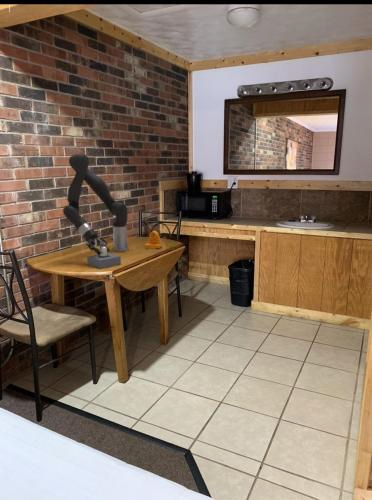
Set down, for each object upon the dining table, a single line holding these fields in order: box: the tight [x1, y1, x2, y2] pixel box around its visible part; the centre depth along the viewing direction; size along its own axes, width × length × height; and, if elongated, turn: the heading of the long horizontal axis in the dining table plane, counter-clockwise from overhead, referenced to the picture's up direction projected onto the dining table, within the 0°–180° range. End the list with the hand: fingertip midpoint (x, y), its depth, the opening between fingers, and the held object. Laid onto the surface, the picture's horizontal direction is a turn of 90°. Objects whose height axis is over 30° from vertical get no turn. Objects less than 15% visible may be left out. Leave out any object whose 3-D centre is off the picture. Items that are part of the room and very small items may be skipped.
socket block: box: [86, 252, 122, 270], centre depth 218 cm, size 14×14×5 cm
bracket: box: [144, 230, 163, 250], centre depth 264 cm, size 11×7×12 cm, turn 74°
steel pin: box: [99, 245, 108, 258], centre depth 217 cm, size 4×4×10 cm
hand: (104, 252), depth 217 cm, fingers open, 8 cm apart
